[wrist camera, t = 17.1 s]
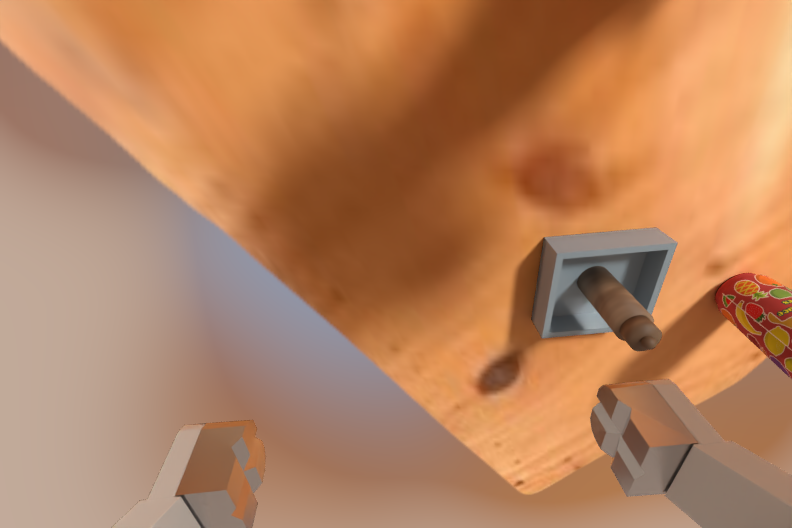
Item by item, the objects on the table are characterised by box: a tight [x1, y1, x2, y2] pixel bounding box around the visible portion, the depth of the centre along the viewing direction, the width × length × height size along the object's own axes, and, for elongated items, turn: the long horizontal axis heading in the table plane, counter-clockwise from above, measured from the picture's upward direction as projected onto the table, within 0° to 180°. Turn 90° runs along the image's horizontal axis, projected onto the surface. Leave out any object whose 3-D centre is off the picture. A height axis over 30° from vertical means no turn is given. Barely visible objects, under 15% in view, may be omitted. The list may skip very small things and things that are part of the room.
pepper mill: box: [577, 266, 662, 351], centre depth 44 cm, size 4×4×12 cm
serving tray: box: [531, 228, 677, 338], centre depth 49 cm, size 14×13×4 cm
